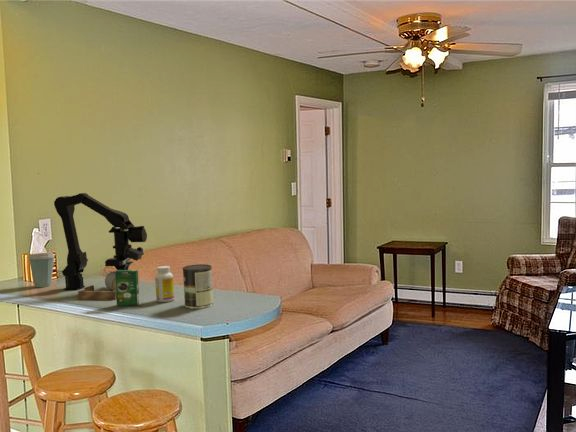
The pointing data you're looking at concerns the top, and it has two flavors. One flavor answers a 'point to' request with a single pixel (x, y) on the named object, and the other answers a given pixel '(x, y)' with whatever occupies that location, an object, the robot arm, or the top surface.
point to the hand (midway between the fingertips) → (124, 279)
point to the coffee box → (127, 287)
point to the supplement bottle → (164, 284)
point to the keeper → (96, 294)
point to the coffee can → (198, 286)
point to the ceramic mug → (111, 281)
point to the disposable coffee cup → (42, 268)
